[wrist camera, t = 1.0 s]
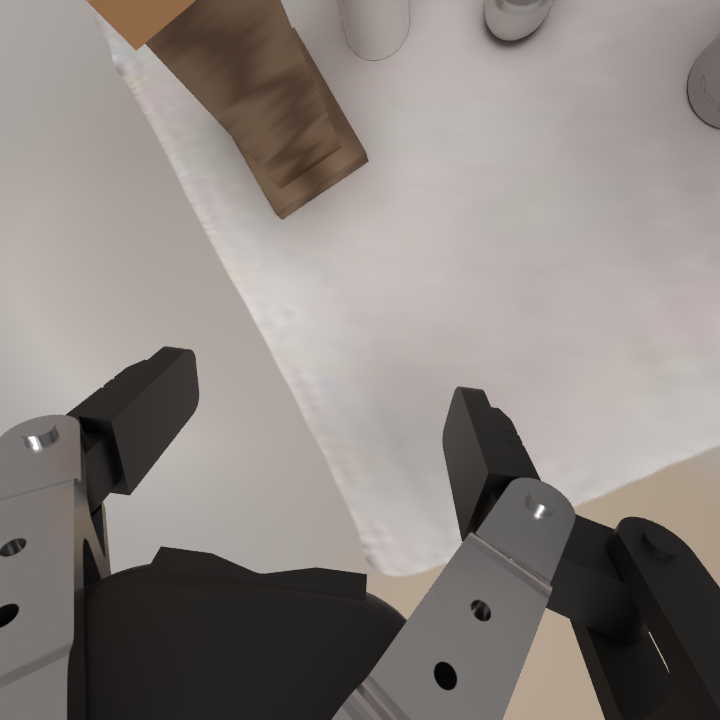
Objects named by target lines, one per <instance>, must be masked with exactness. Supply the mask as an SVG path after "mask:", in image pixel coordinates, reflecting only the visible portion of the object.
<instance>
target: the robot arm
mask: <svg viewBox="0 0 720 720" xmlns="http://www.w3.org/2000/svg"><path fill="white" fill-rule="evenodd" d="M688 95H689V101H690V103H691V105H692V107H693V110H694V111H695V112H696V113H697V115H698V116H699V117H700V118H701V119H703V120H704V121H705V122H706V123H708V124H710V125H712V126H715V127H717V128H720V35H719V36H718V37H717V38H716V39H715V40H714V41H713V42H712V43H711V44H710V45H709V46H708V47H707V48H706V49H705V50H704V51H703V52H702V54H701V55H700V56H699V57H698V59H697V60H696V62H695V64H694V66H693V67H692V69H691V72H690V76H689V79H688ZM198 401H199V387H198V377H197V369H196V358H195V354H194V352H193V351H192V350H189V349H182V348H174V347H167V346H166V347H163V348H162V349H160V350H159V351H158V352H157V353H155V354H154V355H153V356H152V357H151V358H150V359H148V360H143V361H141V362H138V363H136V364H134V365H131V366H129V367H127V368H125V369H124V370H123V371H122V372H120V373H119V374H118V375H116V376H115V377H114V379H112V380H110V381H109V382H108V383H106V384H105V385H104V387H103V388H100V389H98V390H97V391H96V392H94V393H93V394H92V395H91V396H89V397H88V398H87V399H85V400H84V401H83V402H82V403H81V404H79V405H78V406H77V407H75V408H74V409H73V410H71V411H70V412H69V413H67V414H66V415H48V416H42V417H38V418H34V419H31V420H28V421H25V422H23V423H21V424H18V425H16V426H14V427H13V428H11V429H9V430H8V431H7V432H5V433H4V434H3V435H2V436H1V437H0V720H502V719H503V717H504V714H505V711H506V709H507V706H508V704H509V701H510V698H511V696H512V693H513V691H514V688H515V686H516V683H517V681H518V678H519V675H520V673H521V670H522V668H523V665H524V662H525V660H526V657H527V655H528V652H529V649H530V647H531V644H532V641H533V639H534V636H535V634H536V631H537V628H538V626H539V624H540V621H541V618H542V616H543V613H544V611H545V608H548V609H550V610H552V611H554V612H557V613H559V614H561V615H563V616H565V617H567V618H569V619H570V621H571V624H572V627H573V630H574V632H575V635H576V638H577V641H578V644H579V647H580V650H581V652H582V655H583V658H584V661H585V663H586V667H587V669H588V672H589V675H590V678H591V681H592V684H593V686H594V689H595V692H596V695H597V698H598V701H599V703H600V706H601V709H602V712H603V715H604V718H605V720H720V588H719V586H718V585H717V583H716V582H715V581H714V579H713V578H712V577H711V575H710V574H709V573H708V571H707V570H706V568H705V567H704V566H703V565H702V563H701V562H700V560H699V559H698V558H697V556H696V555H695V554H694V552H693V551H692V550H691V549H690V547H689V546H688V545H686V543H685V542H684V541H682V540H681V539H680V538H679V537H678V536H676V535H675V534H674V533H672V532H671V531H669V530H668V529H666V528H665V527H663V526H661V525H659V524H657V523H655V522H652V521H650V520H647V519H644V518H639V517H627V518H624V519H622V520H621V521H620V523H619V524H618V525H617V527H616V528H615V529H612V528H610V527H607V526H604V525H602V524H599V523H596V522H594V521H591V520H588V519H586V518H583V517H581V516H579V515H576V514H575V511H574V509H573V507H572V505H571V503H570V502H569V500H568V499H567V498H566V497H565V496H564V495H563V494H562V493H561V492H559V491H558V490H557V489H555V488H554V487H552V486H551V485H549V484H547V483H545V482H542V481H541V480H540V478H539V476H538V474H537V472H536V469H535V467H534V465H533V463H532V461H531V459H530V457H529V455H528V453H527V451H526V449H525V447H524V446H523V445H522V441H521V439H520V437H519V435H517V431H516V429H515V427H514V425H513V423H512V421H511V419H510V418H509V417H507V416H506V415H505V414H504V413H503V412H502V411H501V410H500V409H499V408H493V407H491V406H490V404H489V401H488V399H487V397H486V394H485V392H484V391H483V390H481V389H474V388H466V387H459V386H458V387H457V388H456V389H455V392H454V395H453V398H452V402H451V405H450V409H449V412H448V416H447V419H446V423H445V426H444V431H443V450H444V455H445V460H446V465H447V470H448V475H449V480H450V485H451V489H452V494H453V499H454V504H455V509H456V514H457V519H458V524H459V529H460V534H461V539H462V542H463V543H462V544H461V546H460V547H459V549H458V550H457V551H456V553H455V554H454V556H453V557H452V558H451V560H450V561H449V563H448V564H447V565H446V567H445V568H444V570H443V571H442V573H441V574H440V576H439V577H438V578H437V580H436V581H435V582H434V584H433V585H432V587H431V588H430V589H429V591H428V592H427V594H426V595H425V596H424V598H423V599H422V601H421V602H420V604H419V605H418V606H417V608H416V609H415V611H414V612H413V613H412V615H411V617H410V618H409V619H408V620H406V619H405V618H404V617H403V616H402V615H401V614H400V613H399V612H398V611H397V610H396V609H394V608H393V607H392V606H390V605H389V604H388V603H386V602H385V601H383V600H381V599H380V598H378V597H376V596H374V595H372V594H370V593H367V592H366V582H367V575H366V574H361V573H354V572H346V571H339V570H331V569H324V568H308V569H300V570H291V571H283V572H275V573H267V574H260V573H256V572H253V571H251V570H249V569H246V568H244V567H242V566H239V565H237V564H235V563H233V562H230V561H228V560H226V559H223V558H221V557H219V556H216V555H214V554H212V553H205V552H198V551H190V550H183V549H176V548H168V547H160V549H159V551H158V552H157V554H156V556H155V558H154V559H153V561H152V563H151V564H147V565H142V566H137V567H133V568H130V569H126V570H123V571H120V572H117V573H115V574H113V575H111V570H110V560H109V548H108V536H107V524H106V512H105V506H104V503H103V500H104V499H105V498H106V497H107V496H108V495H109V493H117V494H124V495H131V493H132V492H133V491H134V489H135V488H136V487H137V485H138V484H139V483H140V482H141V480H142V479H143V478H144V477H145V475H146V474H147V473H148V471H149V470H150V469H151V468H152V466H153V465H154V464H155V462H156V461H157V460H158V459H159V457H160V456H161V455H162V453H163V452H164V451H165V450H166V448H167V447H168V446H169V444H170V443H171V442H172V441H173V439H174V438H175V437H176V435H177V434H178V433H179V432H180V430H181V429H182V428H183V427H184V425H185V424H186V423H187V421H188V420H189V419H190V418H191V416H192V415H193V414H194V412H195V410H196V408H197V405H198ZM649 631H650V633H651V635H652V637H653V639H654V641H655V643H656V645H657V647H658V648H659V650H660V653H661V654H662V656H663V658H664V660H665V662H666V665H667V667H668V670H669V672H668V670H667V668H666V666H665V664H664V662H663V660H662V658H661V656H660V654H659V652H658V650H657V648H656V646H655V644H654V642H653V640H652V638H651V637H650V635H649V633H648V632H649ZM669 673H670V674H669Z"/></svg>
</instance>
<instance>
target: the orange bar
mask: <svg viewBox="0 0 720 720" xmlns="http://www.w3.org/2000/svg"><path fill="white" fill-rule="evenodd" d="M86 1H87V2H88V3H89V4H90V5H91V6H92V7H93V8H94V9H95V10H96V11H97V12H98V13H99V14H100V15H101V16H102V17H103V18H104V19H105V20H106V21H107V22H108V23H109V24H110V25H111V26H112V27H113V28H114V29H115V30H116V31H117V32H118V33H119V34H120V35H121V36H122V37H123V38H124V39H125V40H126V41H127V42H128V43H129V44H130V45H131V46H132V47H133V48H134V49H135V50H138V49H139V48H140V47H141V46H142V45H143V44H145V43H146V42H147V41H148V40H149V39H151V38H152V37H153V36H154V35H155V34H157V33H158V32H159V31H160V30H161V29H163V28H164V27H165V26H166V25H167V24H168V23H170V22H171V21H172V20H173V19H174V18H176V17H177V16H178V15H179V14H180V13H182V12H183V11H184V10H185V9H186V8H188V7H189V6H190V5H191V4H192V3H193V2H195V1H196V0H86Z"/></svg>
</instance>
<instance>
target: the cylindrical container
mask: <svg viewBox="0 0 720 720" xmlns="http://www.w3.org/2000/svg"><path fill="white" fill-rule="evenodd" d="M337 2H338V6H339V10H340V14H341V18H342V22H343V26H344V30H345V35H346V39H347V42H348V44H349V46H350V48H351V49H352V51H353V52H354V53H355V54H356V55H358V56H359V57H361V58H363V59H366V60H372V61H373V60H381V59H385V58H387V57H389V56H391V55H392V54H393V53H395V52H396V51H397V50H398V49H399V48H400V47H401V45H402V44H403V43H404V41H405V39H406V37H407V34H408V30H409V23H410V17H409V0H337Z"/></svg>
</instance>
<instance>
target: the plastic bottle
mask: <svg viewBox="0 0 720 720" xmlns="http://www.w3.org/2000/svg"><path fill="white" fill-rule="evenodd" d="M553 1H554V0H485V19H486V23H487V25H488V27H489V29H490V30H491V32H492V33H493V34H494V35H495V36H497V37H498V38H500V39H502V40H507V41H513V40H518V39H520V38H523V37H525V36H527V35H529V34H530V33H532V32H533V31H534V30H535V29H536V28H537V27H538V26H539V25H540V24H541V23H542V21H543V20H544V18H545V16H546V15H547V13H548V11H549V10H550V8H551V6H552V4H553Z"/></svg>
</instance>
